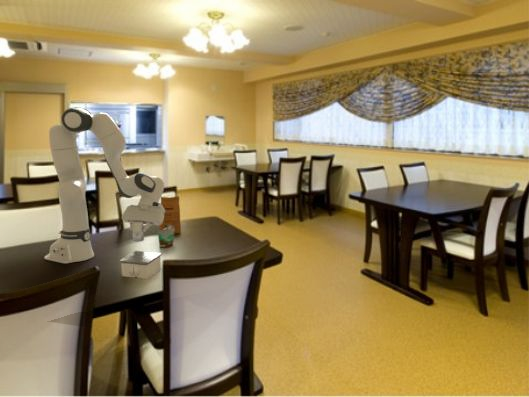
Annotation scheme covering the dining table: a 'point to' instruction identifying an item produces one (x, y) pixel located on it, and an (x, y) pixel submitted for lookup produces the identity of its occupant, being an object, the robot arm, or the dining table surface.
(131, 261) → the pan
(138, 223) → the steel weight
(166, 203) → the coffee package
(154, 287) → the dining table surface
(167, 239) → the food container
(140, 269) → the scale
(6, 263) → the dining table surface
